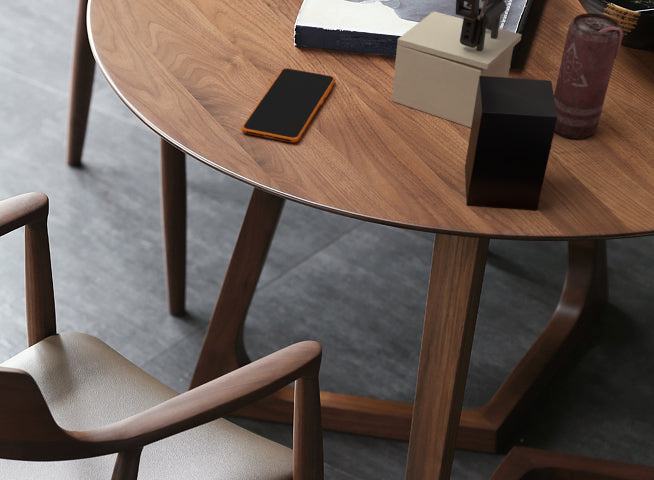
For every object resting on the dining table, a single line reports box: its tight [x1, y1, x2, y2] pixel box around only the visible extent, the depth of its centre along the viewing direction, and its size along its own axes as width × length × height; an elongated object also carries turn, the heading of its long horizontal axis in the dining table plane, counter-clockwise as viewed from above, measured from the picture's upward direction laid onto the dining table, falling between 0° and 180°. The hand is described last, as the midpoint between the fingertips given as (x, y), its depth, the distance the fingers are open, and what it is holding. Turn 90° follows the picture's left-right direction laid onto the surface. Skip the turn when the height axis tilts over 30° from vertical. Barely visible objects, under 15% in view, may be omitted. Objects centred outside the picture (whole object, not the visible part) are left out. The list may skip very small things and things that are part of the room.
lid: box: [397, 0, 522, 70], centre depth 133 cm, size 12×10×6 cm
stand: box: [464, 76, 557, 211], centre depth 121 cm, size 8×8×12 cm
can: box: [553, 12, 624, 140], centre depth 131 cm, size 6×6×14 cm
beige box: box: [391, 44, 514, 129], centre depth 138 cm, size 12×10×8 cm
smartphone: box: [241, 67, 336, 143], centre depth 137 cm, size 8×17×1 cm, turn 162°
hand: (479, 35), depth 133 cm, fingers closed on lid, 5 cm apart
